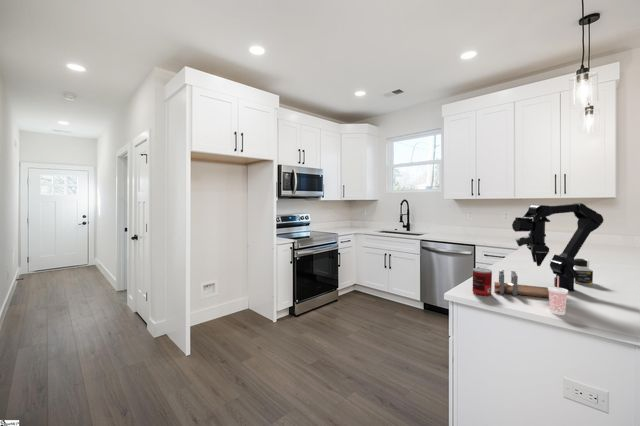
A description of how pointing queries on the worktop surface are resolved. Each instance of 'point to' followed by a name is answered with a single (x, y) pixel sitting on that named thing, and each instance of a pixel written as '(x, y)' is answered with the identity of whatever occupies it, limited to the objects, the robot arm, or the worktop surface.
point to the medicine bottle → (583, 272)
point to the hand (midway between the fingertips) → (536, 264)
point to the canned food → (482, 281)
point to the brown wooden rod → (523, 290)
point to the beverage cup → (557, 299)
